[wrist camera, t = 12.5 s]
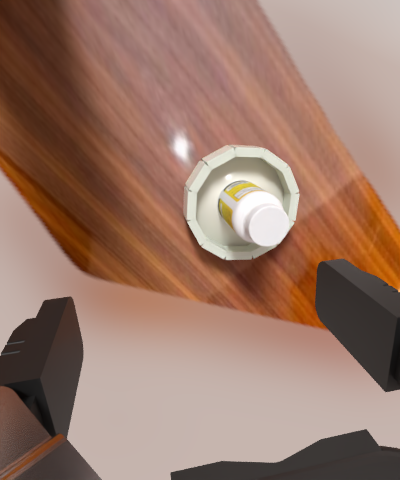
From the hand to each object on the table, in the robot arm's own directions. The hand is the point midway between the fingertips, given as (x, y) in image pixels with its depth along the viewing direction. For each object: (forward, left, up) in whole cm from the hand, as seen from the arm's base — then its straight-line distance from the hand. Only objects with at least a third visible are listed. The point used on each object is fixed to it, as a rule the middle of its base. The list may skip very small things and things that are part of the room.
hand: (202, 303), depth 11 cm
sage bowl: (+8, +7, -30) cm, 32 cm away
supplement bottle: (+8, +7, -29) cm, 31 cm away
